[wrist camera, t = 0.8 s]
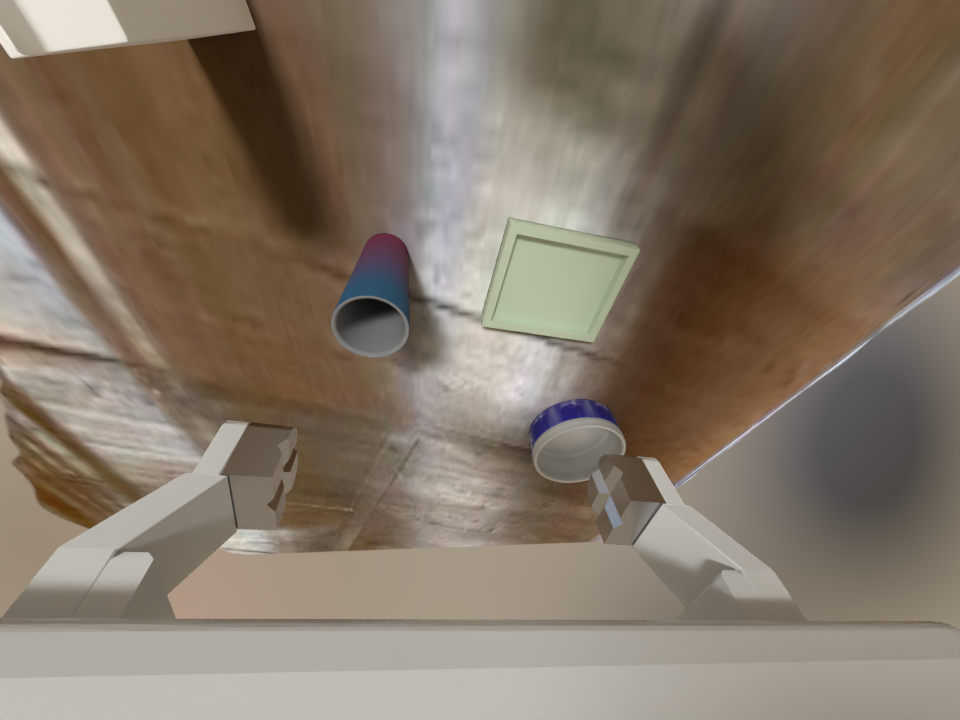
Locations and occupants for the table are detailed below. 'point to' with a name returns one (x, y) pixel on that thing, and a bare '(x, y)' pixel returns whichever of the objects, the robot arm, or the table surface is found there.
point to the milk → (113, 23)
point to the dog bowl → (573, 440)
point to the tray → (555, 281)
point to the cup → (375, 300)
